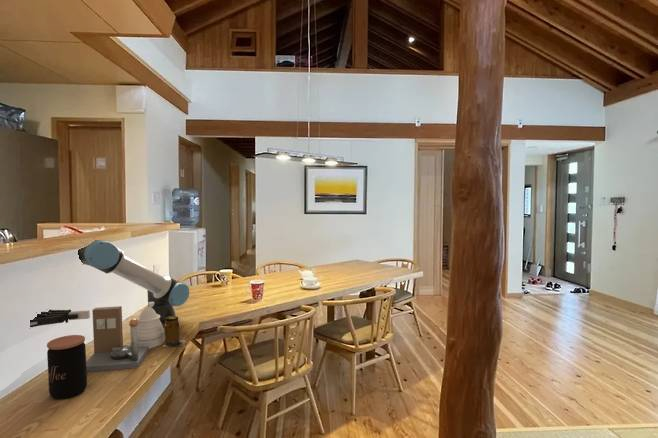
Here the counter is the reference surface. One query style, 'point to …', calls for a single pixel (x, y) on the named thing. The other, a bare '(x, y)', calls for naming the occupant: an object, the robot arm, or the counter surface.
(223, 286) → the counter surface
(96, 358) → the stand
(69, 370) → the coffee jar
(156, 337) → the honey pot
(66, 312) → the robot arm
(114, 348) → the ball top joystick
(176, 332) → the condiment
